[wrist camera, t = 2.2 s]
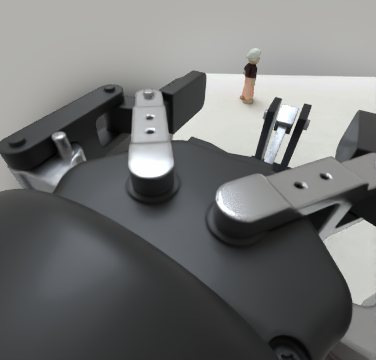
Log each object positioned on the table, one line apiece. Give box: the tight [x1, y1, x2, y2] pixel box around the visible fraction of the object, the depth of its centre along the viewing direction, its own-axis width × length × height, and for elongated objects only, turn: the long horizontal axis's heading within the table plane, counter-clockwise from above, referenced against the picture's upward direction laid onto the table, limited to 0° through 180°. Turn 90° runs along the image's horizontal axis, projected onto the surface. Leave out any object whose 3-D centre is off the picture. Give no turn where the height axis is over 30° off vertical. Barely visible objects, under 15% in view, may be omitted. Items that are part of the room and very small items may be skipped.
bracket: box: [252, 97, 312, 173], centre depth 37 cm, size 10×8×15 cm
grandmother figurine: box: [240, 48, 261, 104], centre depth 60 cm, size 8×4×13 cm, turn 18°
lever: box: [264, 105, 299, 164], centre depth 32 cm, size 12×6×2 cm, turn 151°
